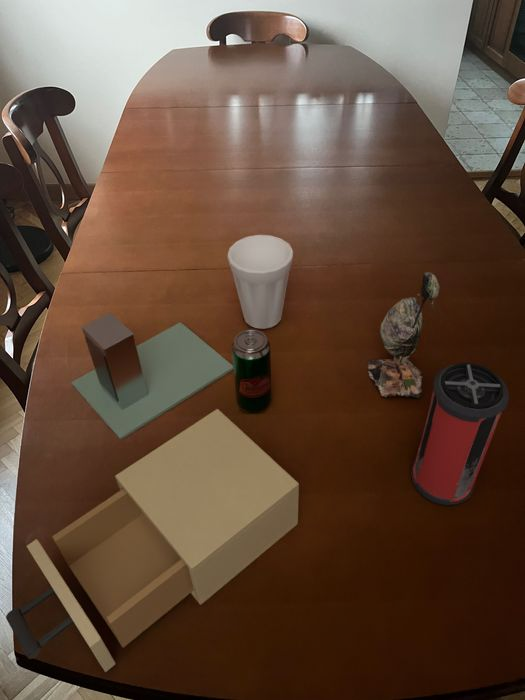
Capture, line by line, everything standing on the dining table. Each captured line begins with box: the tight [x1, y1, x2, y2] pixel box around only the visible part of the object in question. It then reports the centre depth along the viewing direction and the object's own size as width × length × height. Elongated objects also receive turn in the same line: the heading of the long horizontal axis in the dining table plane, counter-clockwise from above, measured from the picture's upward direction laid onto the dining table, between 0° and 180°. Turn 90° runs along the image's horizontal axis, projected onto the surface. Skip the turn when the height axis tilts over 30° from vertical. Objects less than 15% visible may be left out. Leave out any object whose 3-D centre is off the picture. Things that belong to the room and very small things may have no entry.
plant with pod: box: [367, 271, 440, 399], centre depth 81 cm, size 8×11×20 cm
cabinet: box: [114, 408, 300, 606], centre depth 68 cm, size 15×15×9 cm
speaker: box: [410, 362, 510, 506], centre depth 68 cm, size 8×8×18 cm
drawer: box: [5, 488, 194, 673], centre depth 62 cm, size 18×13×7 cm
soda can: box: [231, 329, 273, 414], centre depth 81 cm, size 5×5×12 cm
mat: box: [70, 321, 234, 441], centre depth 89 cm, size 20×14×1 cm
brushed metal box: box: [81, 312, 148, 410], centre depth 82 cm, size 5×6×12 cm
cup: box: [227, 234, 294, 330], centre depth 93 cm, size 10×10×13 cm
